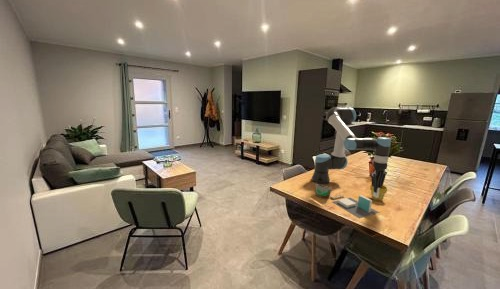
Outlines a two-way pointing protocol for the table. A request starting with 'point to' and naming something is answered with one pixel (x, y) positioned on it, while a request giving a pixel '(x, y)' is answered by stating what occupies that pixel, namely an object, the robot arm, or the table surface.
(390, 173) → the table surface
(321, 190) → the food container
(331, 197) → the turner
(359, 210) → the mat
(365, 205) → the tile
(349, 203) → the tile
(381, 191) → the plant pot
